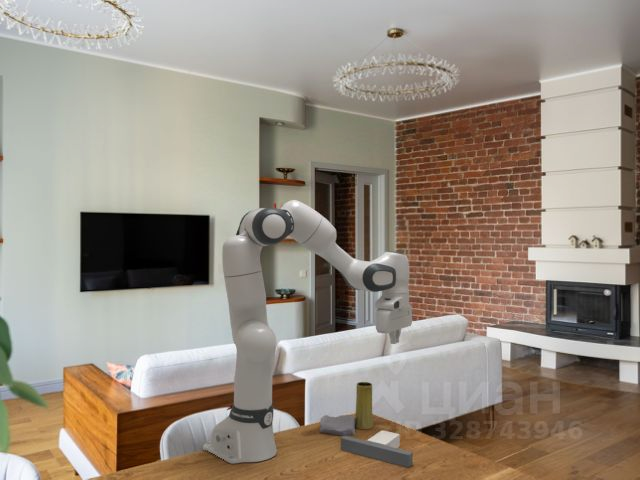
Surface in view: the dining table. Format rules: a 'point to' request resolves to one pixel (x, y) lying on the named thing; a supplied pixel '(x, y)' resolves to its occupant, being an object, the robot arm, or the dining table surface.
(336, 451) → the dining table surface
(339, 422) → the stone block
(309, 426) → the dining table surface
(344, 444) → the charcoal board
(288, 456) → the dining table surface
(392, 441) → the offwhite block
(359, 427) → the vase
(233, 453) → the robot arm
